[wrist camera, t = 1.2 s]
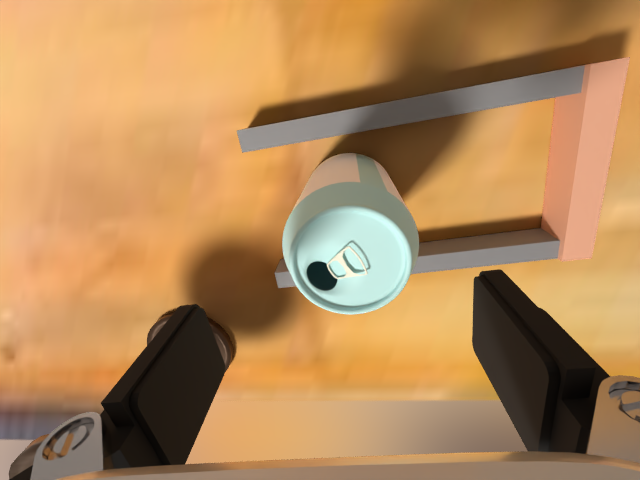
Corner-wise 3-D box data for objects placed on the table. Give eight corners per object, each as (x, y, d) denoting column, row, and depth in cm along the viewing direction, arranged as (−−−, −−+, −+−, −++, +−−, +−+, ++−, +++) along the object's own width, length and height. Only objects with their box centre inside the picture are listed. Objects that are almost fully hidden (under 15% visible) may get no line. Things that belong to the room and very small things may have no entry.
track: (591, 63, 20) (629, 57, 18) (565, 241, 25) (591, 258, 23) (247, 128, 24) (234, 131, 21) (283, 273, 29) (277, 291, 26)
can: (371, 246, 27) (386, 343, 16) (295, 218, 26) (258, 298, 16) (407, 170, 24) (457, 225, 13) (323, 138, 24) (301, 167, 13)
